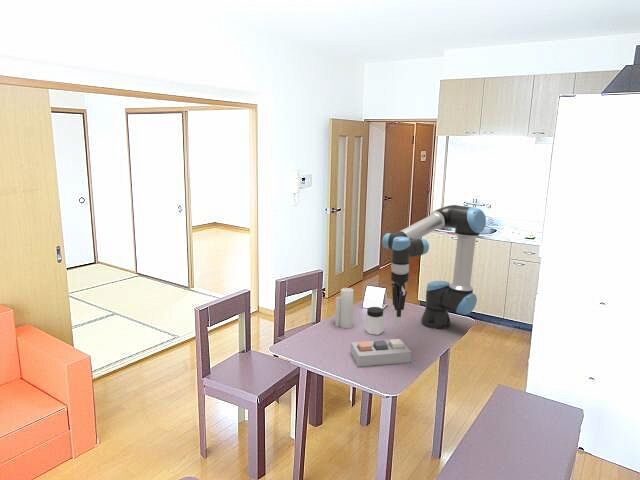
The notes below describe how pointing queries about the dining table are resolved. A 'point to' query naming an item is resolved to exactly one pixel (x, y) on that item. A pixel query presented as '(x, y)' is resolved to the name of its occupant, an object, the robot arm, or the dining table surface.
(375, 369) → the dining table surface
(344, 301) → the grey stepped double column
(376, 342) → the charcoal key
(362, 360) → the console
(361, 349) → the terracotta key
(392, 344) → the ivory key
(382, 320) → the jar
